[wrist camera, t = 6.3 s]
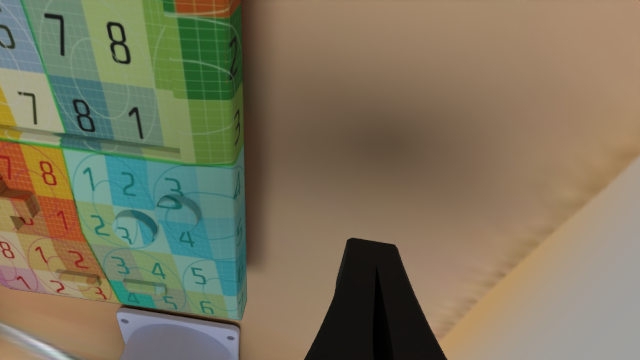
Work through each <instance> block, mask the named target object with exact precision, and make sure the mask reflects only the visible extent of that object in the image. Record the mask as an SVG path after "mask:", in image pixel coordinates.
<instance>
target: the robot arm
mask: <svg viewBox="0 0 640 360" xmlns="http://www.w3.org/2000/svg"><path fill="white" fill-rule="evenodd" d="M116 316H117V320H118V323H119V326H120V330H121V333H122V336H123V339H124V343H125V348H124V350H123V352H122V355H121V357H120V359H119V360H239V335H240V330H239V328H238V327H236V326H234V325H229V324H223V323H217V322H211V321H204V320H198V319H192V318H186V317H180V316H173V315H167V314H161V313H155V312H148V311H142V310H136V309H130V308H120V309H118V311H117V313H116ZM304 360H447V358H446V357H445V355H444V353H443V351H442V349H441V347H440V345H439V344H438V342H437V340H436V338H435V336H434V334H433V332H432V330H431V328H430V326H429V324H428V322H427V320H426V318H425V316H424V313H423V311H422V309H421V307H420V305H419V303H418V300H417V298H416V296H415V294H414V291H413V289H412V286H411V284H410V281H409V279H408V276H407V274H406V271H405V269H404V266H403V263H402V260H401V257H400V254H399V251H398V248H397V247H396V246H395V245H394V244H388V243H382V242H376V241H369V240H363V239H357V238H350V239H348V240H347V243H346V247H345V250H344V254H343V258H342V262H341V265H340V269H339V273H338V276H337V281H336V288H335V294H334V297H333V300H332V302H331V305H330V307H329V309H328V312H327V314H326V316H325V319H324V321H323V323H322V325H321V328H320V330H319V332H318V334H317V336H316V338H315V340H314V342H313V344H312V346H311V348H310V350H309V351H308V353H307V355H306V357H305V359H304Z"/></svg>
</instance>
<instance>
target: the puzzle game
mask: <svg viewBox="0 0 640 360" xmlns="http://www.w3.org/2000/svg"><path fill="white" fill-rule="evenodd" d="M0 283H1V285H3V286H5V287H7V288H10V289H15V290H22V291H30V292H37V293H44V294H52V295H59V296H66V297H74V298H81V299H88V300H96V301H103V302H110V303H118V304H125V305H132V306H139V307H147V308H154V309H161V310H169V311H176V312H183V313H191V314H198V315H205V316H213V317H220V318H227V319H235V320H242V317H243V313H244V309H245V306H246V302H247V274H246V225H245V177H244V128H243V80H242V31H241V0H0Z"/></svg>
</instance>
